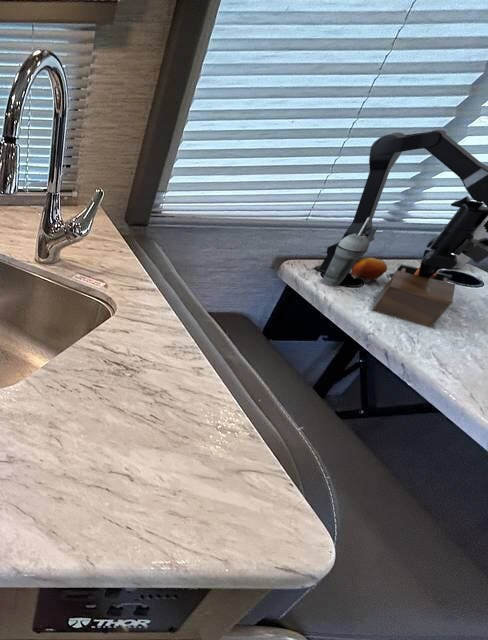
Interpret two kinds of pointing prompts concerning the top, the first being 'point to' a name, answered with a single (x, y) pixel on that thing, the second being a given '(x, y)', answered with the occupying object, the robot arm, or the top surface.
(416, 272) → the block
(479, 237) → the plastic bottle
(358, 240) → the beverage cup
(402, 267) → the drawer
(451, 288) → the cabinet
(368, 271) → the fruit
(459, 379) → the top surface
